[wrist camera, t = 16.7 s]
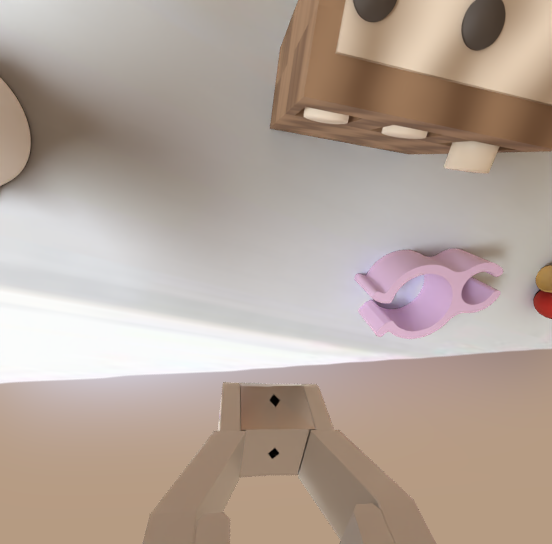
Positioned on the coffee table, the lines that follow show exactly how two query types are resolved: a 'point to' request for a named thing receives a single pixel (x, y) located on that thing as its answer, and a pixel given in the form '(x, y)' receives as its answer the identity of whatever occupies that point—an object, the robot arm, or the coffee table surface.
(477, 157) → the button
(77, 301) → the coffee table surface
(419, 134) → the button middle
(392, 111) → the console
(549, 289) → the kendama
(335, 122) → the button
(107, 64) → the coffee table surface
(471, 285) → the clip
